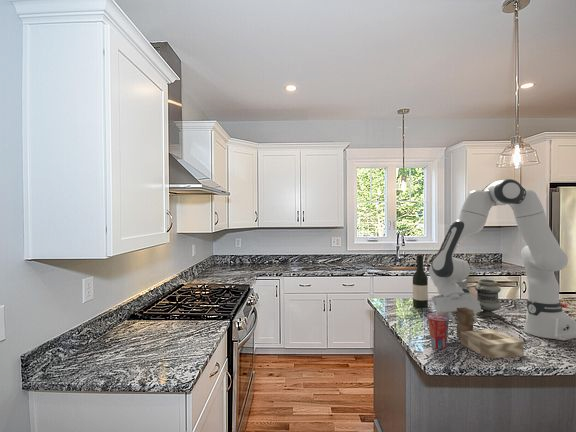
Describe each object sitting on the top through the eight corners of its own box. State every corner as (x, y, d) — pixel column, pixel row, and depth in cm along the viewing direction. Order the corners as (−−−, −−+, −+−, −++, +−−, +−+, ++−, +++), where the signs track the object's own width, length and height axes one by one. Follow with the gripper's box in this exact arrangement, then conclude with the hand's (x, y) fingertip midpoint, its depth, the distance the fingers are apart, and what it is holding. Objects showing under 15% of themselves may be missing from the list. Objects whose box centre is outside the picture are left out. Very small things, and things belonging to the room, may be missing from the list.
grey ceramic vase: (477, 317, 180) (476, 282, 180) (472, 311, 191) (472, 278, 191) (504, 319, 176) (503, 283, 176) (497, 312, 188) (497, 279, 188)
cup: (453, 346, 141) (452, 316, 141) (446, 352, 135) (445, 321, 135) (429, 340, 147) (429, 312, 147) (421, 346, 141) (421, 316, 141)
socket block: (492, 341, 146) (492, 329, 146) (523, 355, 131) (523, 341, 131) (460, 344, 143) (460, 331, 143) (488, 358, 128) (488, 344, 128)
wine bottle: (423, 308, 198) (422, 255, 198) (409, 305, 204) (409, 253, 204) (431, 306, 203) (430, 253, 203) (417, 303, 209) (417, 252, 210)
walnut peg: (465, 334, 154) (465, 307, 154) (473, 338, 150) (472, 310, 150) (456, 335, 153) (456, 308, 153) (463, 339, 149) (463, 310, 149)
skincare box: (454, 304, 206) (454, 277, 206) (467, 306, 202) (467, 278, 202) (450, 307, 200) (450, 279, 200) (464, 309, 195) (463, 280, 195)
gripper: (432, 291, 156) (447, 320, 147) (473, 289, 160) (490, 317, 151) (427, 299, 161) (440, 327, 151) (466, 297, 165) (482, 324, 155)
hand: (465, 322), depth 151 cm, fingers open, 8 cm apart
